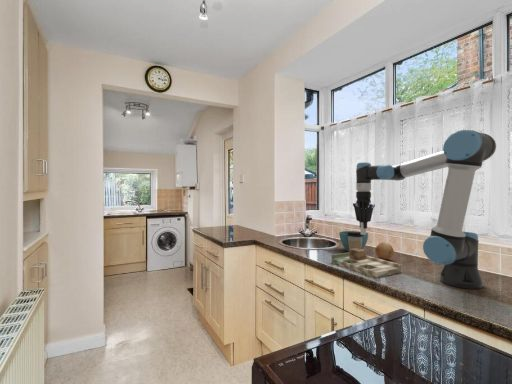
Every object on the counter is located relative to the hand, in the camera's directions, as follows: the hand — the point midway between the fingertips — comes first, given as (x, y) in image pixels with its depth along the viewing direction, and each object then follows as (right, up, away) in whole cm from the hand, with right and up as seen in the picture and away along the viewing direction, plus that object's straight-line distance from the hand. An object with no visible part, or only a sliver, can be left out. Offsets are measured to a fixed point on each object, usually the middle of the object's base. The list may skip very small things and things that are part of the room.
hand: (363, 234), depth 149 cm
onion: (+17, -17, +11) cm, 26 cm away
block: (-2, -14, +3) cm, 15 cm away
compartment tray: (-2, -17, -6) cm, 18 cm away
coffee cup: (+2, -17, +18) cm, 25 cm away
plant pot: (+6, -17, +33) cm, 37 cm away
